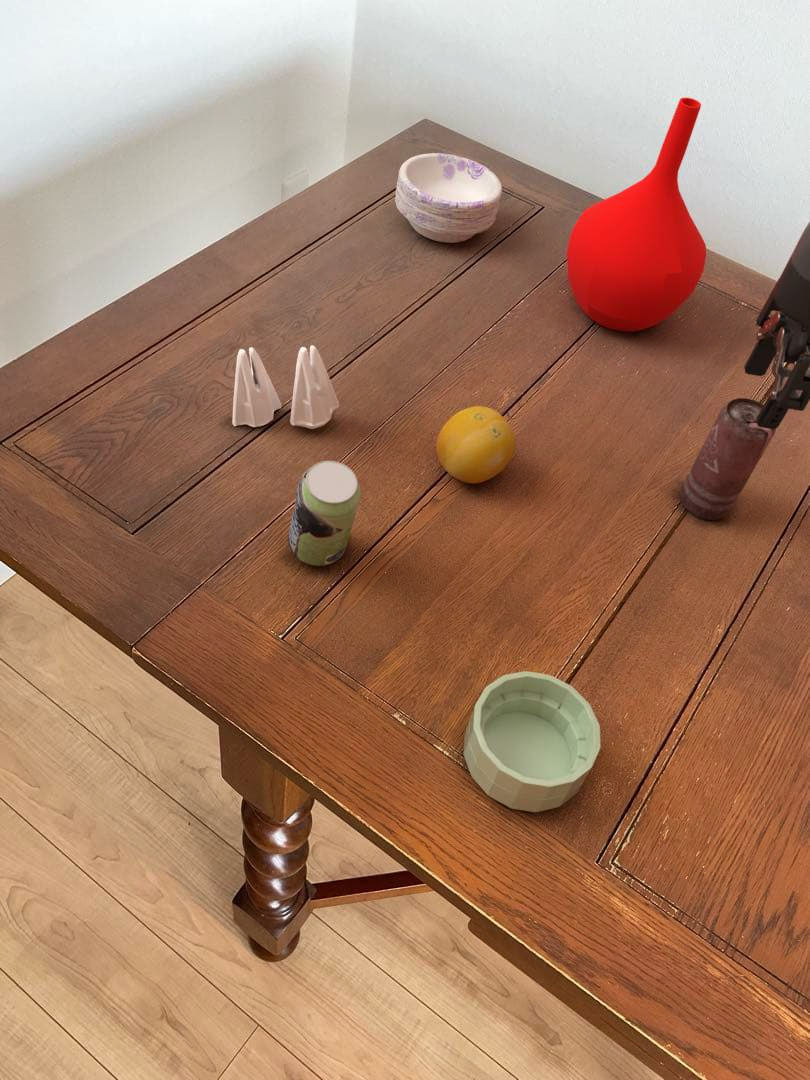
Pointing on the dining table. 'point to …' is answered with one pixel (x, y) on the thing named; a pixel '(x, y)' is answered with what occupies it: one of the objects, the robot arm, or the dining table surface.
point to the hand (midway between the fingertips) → (759, 398)
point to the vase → (640, 243)
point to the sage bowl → (531, 741)
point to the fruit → (475, 444)
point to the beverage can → (323, 513)
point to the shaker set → (261, 400)
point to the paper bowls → (447, 196)
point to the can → (725, 460)
